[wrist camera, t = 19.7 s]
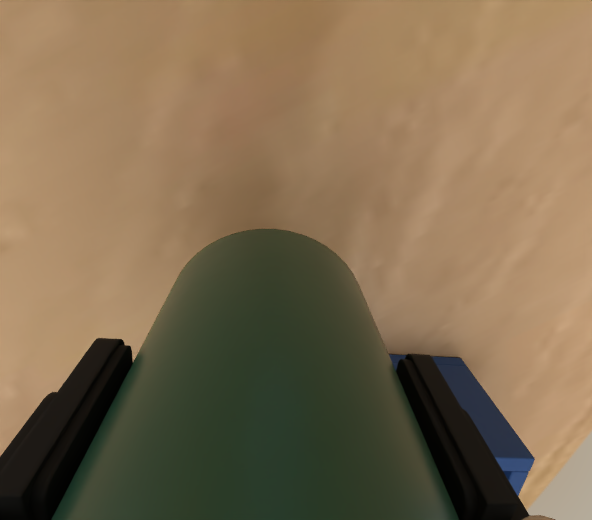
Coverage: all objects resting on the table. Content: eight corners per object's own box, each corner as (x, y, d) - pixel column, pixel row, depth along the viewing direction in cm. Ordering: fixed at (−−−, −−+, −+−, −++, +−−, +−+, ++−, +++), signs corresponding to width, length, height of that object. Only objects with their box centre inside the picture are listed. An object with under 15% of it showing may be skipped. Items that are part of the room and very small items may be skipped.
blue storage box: (255, 347, 23) (248, 451, 16) (460, 357, 24) (535, 459, 17) (241, 550, 29) (232, 683, 23) (400, 551, 30) (437, 678, 24)
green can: (165, 220, 12) (-409, 897, 2) (380, 236, 12) (800, 825, 2) (172, 390, 14) (-50, 1038, 4) (347, 397, 15) (486, 986, 5)
